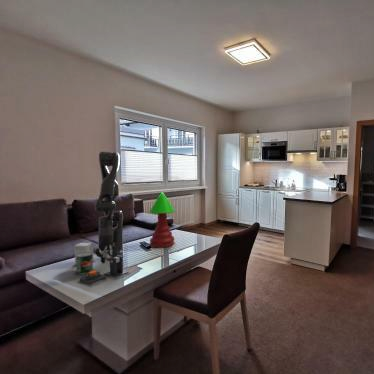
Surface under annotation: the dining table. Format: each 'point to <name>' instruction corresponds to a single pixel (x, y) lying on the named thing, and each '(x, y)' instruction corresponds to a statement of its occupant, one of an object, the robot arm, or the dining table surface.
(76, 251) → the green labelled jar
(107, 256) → the switch
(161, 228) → the table lamp
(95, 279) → the power block
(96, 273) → the power button
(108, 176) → the robot arm
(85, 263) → the canned tomato
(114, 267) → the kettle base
